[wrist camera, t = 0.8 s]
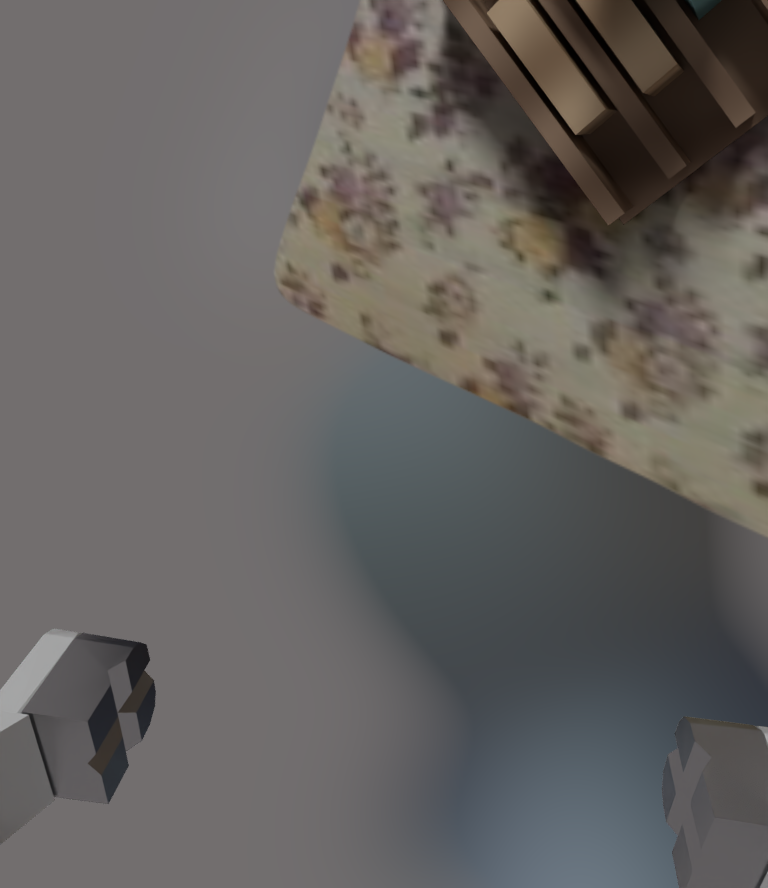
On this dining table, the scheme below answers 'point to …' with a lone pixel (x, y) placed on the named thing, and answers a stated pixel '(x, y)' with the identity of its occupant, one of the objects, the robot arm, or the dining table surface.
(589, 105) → the small oak offcut
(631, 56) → the short oak offcut
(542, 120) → the walnut board rack
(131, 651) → the robot arm
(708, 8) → the tall teal board
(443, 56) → the dining table surface
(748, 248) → the dining table surface
